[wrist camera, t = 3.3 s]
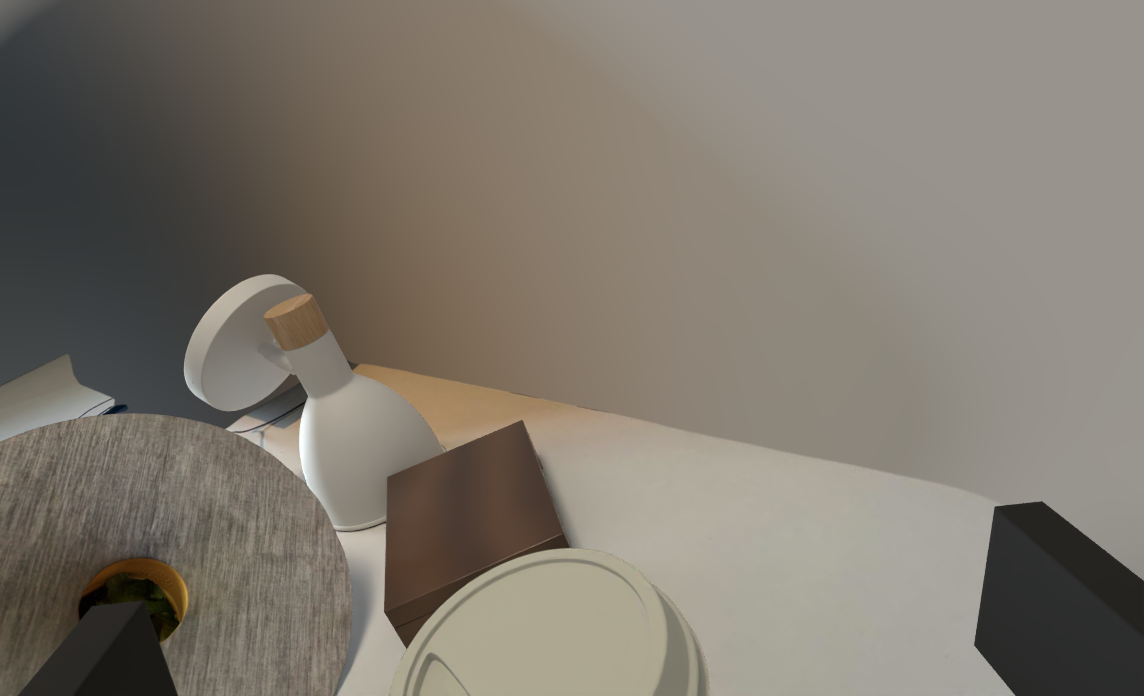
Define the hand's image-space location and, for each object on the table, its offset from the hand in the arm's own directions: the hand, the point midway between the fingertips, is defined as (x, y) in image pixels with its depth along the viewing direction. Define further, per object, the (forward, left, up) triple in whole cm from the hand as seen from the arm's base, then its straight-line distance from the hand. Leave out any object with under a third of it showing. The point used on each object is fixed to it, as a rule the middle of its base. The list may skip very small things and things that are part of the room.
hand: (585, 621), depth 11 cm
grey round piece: (+27, -31, -24) cm, 47 cm away
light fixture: (+17, -52, -24) cm, 59 cm away
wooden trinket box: (+7, -36, -24) cm, 43 cm away
